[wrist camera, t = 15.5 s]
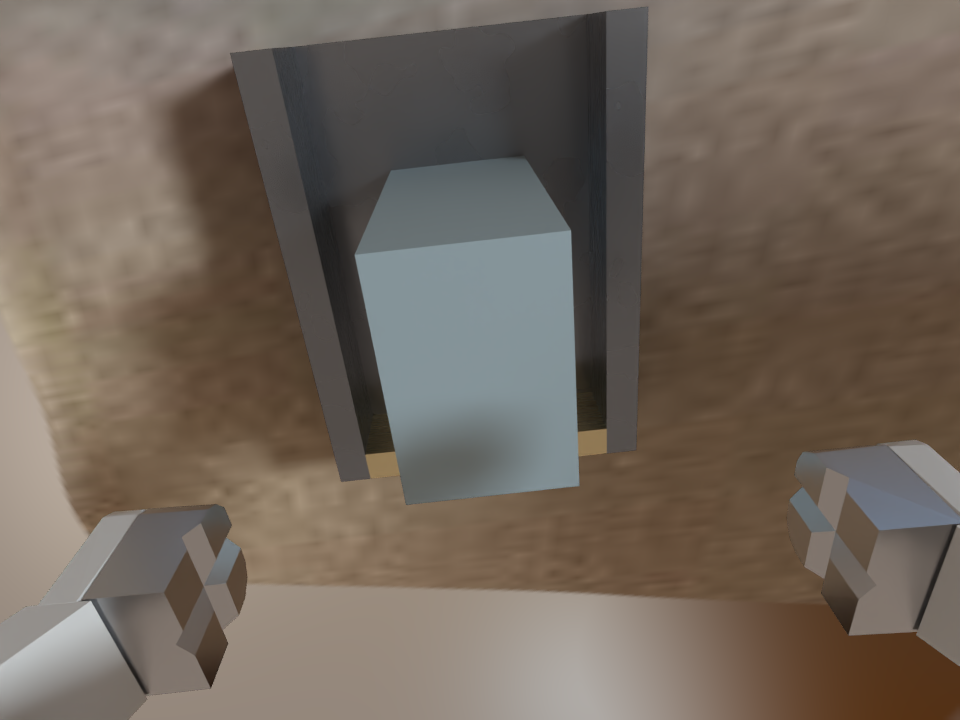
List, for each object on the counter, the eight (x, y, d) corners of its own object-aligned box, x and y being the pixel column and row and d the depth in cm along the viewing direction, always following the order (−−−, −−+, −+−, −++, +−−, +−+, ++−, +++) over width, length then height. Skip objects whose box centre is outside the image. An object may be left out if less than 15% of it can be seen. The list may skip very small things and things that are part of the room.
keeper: (617, 10, 17) (648, 6, 15) (615, 402, 23) (636, 450, 21) (263, 50, 17) (230, 52, 15) (353, 431, 23) (341, 481, 21)
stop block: (523, 155, 18) (571, 230, 11) (535, 335, 21) (579, 486, 14) (390, 170, 18) (354, 255, 11) (420, 348, 21) (406, 504, 14)
